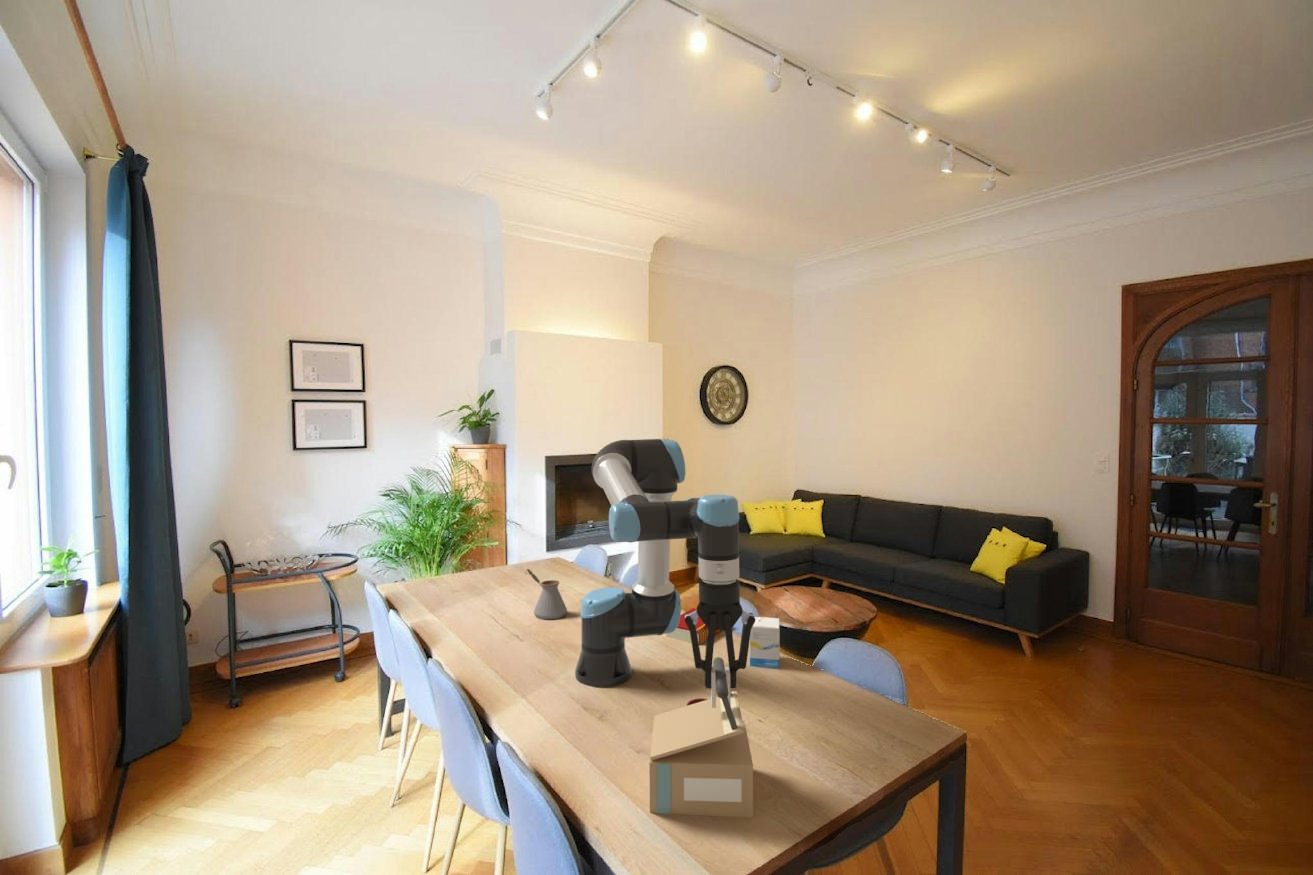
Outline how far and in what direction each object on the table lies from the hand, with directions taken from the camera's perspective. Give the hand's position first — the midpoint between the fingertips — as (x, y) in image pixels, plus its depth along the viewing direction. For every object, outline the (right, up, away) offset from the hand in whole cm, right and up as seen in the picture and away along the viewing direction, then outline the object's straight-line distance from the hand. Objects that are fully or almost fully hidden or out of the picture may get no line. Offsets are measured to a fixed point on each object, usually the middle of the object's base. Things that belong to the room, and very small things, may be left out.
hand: (720, 704), depth 109 cm
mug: (-1, -16, +22) cm, 27 cm away
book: (+1, -15, +82) cm, 83 cm away
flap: (-4, -4, 0) cm, 6 cm away
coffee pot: (-53, -14, +100) cm, 114 cm away
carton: (-4, -17, +1) cm, 17 cm away
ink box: (+19, -15, +60) cm, 64 cm away
